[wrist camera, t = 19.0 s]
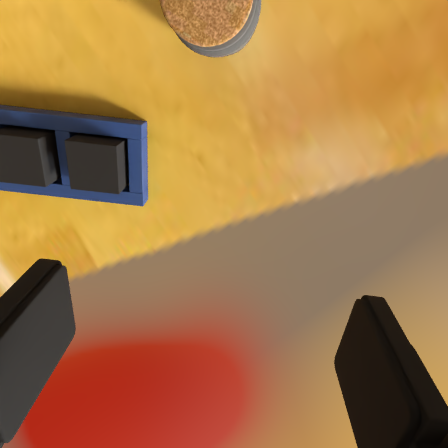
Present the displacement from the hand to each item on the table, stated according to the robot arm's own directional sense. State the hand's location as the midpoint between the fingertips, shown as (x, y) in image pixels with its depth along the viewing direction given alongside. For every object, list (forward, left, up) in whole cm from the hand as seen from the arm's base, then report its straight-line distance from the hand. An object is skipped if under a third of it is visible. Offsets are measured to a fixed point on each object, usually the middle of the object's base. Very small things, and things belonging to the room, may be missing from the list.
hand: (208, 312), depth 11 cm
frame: (+4, -17, -26) cm, 32 cm away
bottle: (-10, -2, -26) cm, 28 cm away
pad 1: (+4, -21, -26) cm, 34 cm away
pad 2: (+4, -13, -26) cm, 30 cm away
